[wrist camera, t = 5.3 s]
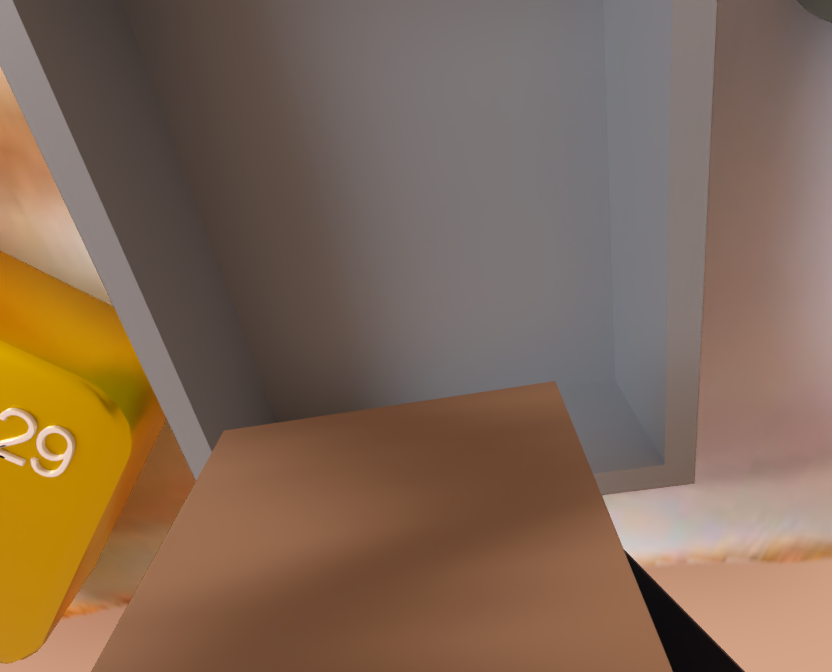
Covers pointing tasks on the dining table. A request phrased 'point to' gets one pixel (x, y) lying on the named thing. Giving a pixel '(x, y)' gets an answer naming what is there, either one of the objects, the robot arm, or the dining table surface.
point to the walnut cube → (394, 550)
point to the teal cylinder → (819, 8)
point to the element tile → (61, 445)
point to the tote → (390, 203)
